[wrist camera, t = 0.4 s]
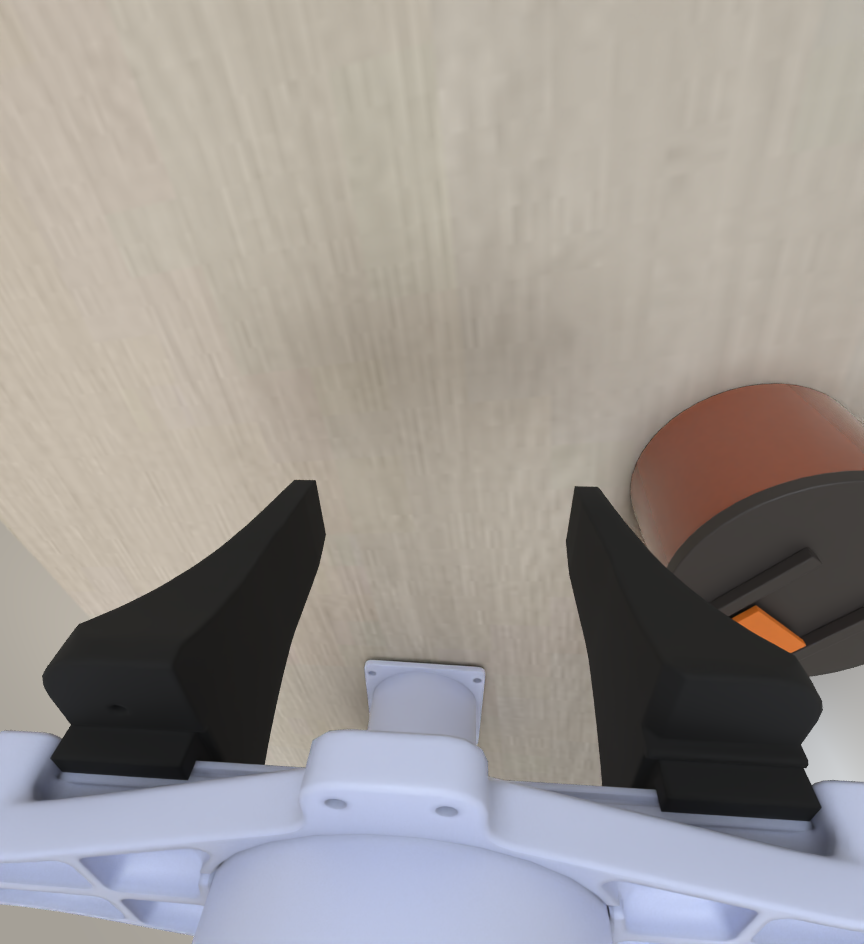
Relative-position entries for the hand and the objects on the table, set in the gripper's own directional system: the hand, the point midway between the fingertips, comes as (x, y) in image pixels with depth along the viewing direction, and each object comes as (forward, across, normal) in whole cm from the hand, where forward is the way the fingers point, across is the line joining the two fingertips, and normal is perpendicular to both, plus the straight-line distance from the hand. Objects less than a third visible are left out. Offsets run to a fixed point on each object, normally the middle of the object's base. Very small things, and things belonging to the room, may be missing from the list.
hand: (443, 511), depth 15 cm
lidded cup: (+10, -13, +6) cm, 18 cm away
